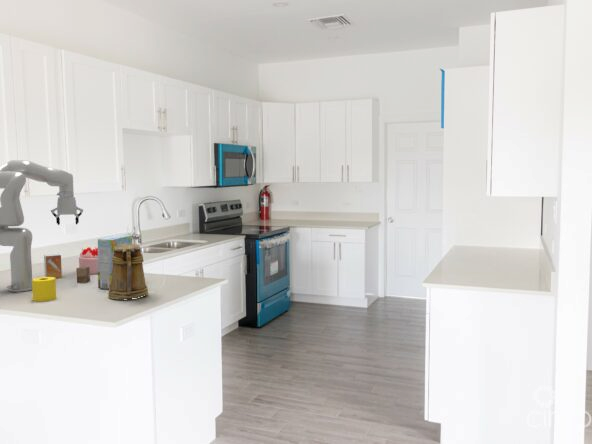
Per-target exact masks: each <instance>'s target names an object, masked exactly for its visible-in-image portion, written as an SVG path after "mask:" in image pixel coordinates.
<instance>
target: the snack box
mask: <svg viewBox="0 0 592 444" xmlns="http://www.w3.org/2000/svg"><path fill="white" fill-rule="evenodd" d="M125 243H128V244H133V235H131V234H115V235H112V236H107V237H102V238H98V239H97V248H98V274H97V278H98V279H97V281H98V282H97V285H98V286H97V288H98V289H105V290H109V289H110V288H111V278H112V268H113V262H112V256H113V255H114V247H115V246H117V245H120V244H125Z"/></svg>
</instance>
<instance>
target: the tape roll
mask: <svg viewBox="0 0 592 444" xmlns="http://www.w3.org/2000/svg"><path fill="white" fill-rule="evenodd" d="M56 279H57V278H55V277H45V276H42V277H36V278H35V277H34V278H32V289H33V290H32V300H33V301H35V302H47V301H52V300H55V299H57V284H56V283H57V281H56Z"/></svg>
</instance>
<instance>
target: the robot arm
mask: <svg viewBox="0 0 592 444" xmlns="http://www.w3.org/2000/svg"><path fill="white" fill-rule="evenodd" d="M27 179H29V180H33V181H36V182H40V183H46V184H47V185H48V186H51V187H58V190H59V191H58V192H56V196H58V197H57V202H56V203H57V205H56V207H55V208H53V209H51V210H50V212H51V214H52V215H53V217H55V218H56V224H57V226H60V225H61V224H60V223H61V222H60V220H61V219H60V216H61V215H64V216H65V215H67V216H68V215H74V216H75V225H78V224H79V222H80V220H79V217H80V216H81V215H82V214H83V212H84V209H83V208H80V207H78V206H77V202H76V201H77V200H76V197H75V196H74V194H75V193H74V176H73V173H70V172H68V171H65V170H62V169H57V168H53V167H49V166H44V165H41V164H39V163H35V162H32V161H30V160H23V159H22V160H17V159H16V160H10V161H8V162H5V163H4V164H3V165H1V166H0V189H3V190H2V192H1V194H0V246H1V247H2V246H3V247H13V248H12V250H11V251H10V255H9V260H10V261H9V263H10V277H11V278H10V279H11V280H10V281H11V282H10V285H7V287H6V288H7V289H6V290H8V291H9V292H12V293H13V292H14V293H17V292H18V293H19V292H20V293H21V292H27V291H33V289H32V279H33V269H32V268H33V266H32V265H33V264H32V263H33V262H32V242H33V233H32V231H31V230H29V229H28V228H26V227H20V226H22V225H23V224H24V221H25V216H24V211H23V207H22V204H21V199H20V195H21V192H22V190H23V188H24V186H25V184H26V181H27ZM55 211H56V212H57V213H56V212H55ZM78 211H79V213H78Z"/></svg>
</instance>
